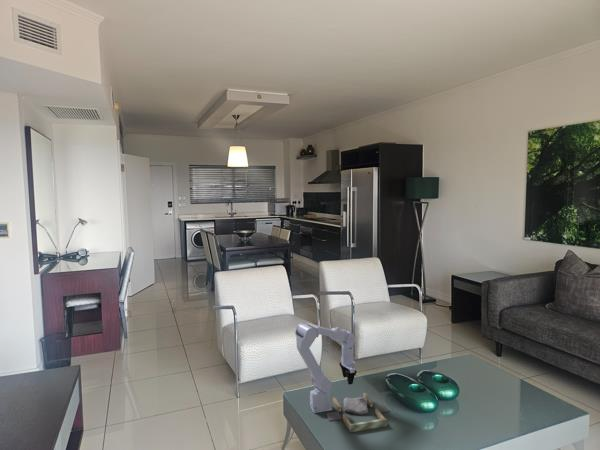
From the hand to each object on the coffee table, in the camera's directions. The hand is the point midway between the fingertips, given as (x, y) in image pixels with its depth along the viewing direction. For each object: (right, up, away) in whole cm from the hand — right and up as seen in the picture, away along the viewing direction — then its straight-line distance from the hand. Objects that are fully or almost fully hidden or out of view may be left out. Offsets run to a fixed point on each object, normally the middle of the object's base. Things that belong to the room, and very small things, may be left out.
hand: (347, 380), depth 200 cm
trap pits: (+3, -10, -13) cm, 17 cm away
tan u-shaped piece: (+3, -10, -13) cm, 17 cm away
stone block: (+3, -11, -9) cm, 14 cm away
